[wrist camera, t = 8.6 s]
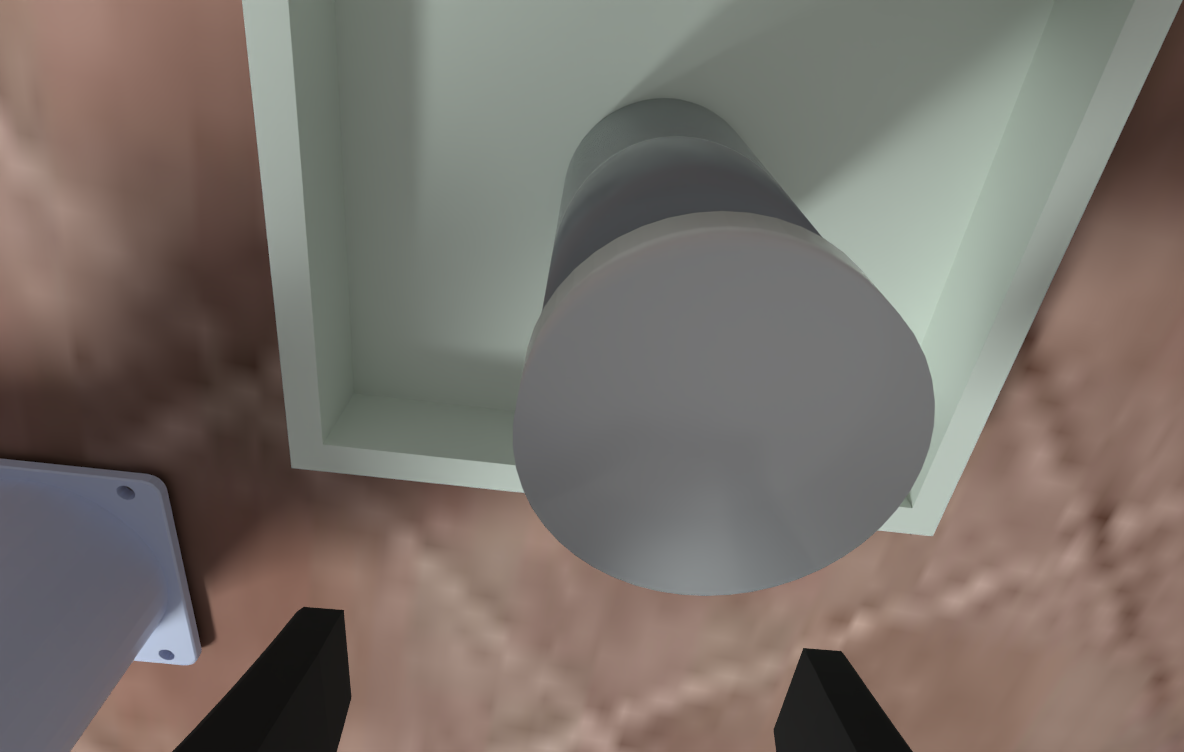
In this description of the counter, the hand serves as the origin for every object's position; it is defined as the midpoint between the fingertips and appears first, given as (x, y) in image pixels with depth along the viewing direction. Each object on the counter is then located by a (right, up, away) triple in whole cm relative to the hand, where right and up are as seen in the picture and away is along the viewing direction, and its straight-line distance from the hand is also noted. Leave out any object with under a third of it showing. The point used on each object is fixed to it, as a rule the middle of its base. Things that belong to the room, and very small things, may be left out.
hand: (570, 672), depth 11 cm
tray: (+2, +9, +6) cm, 11 cm away
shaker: (+2, +9, +5) cm, 10 cm away
